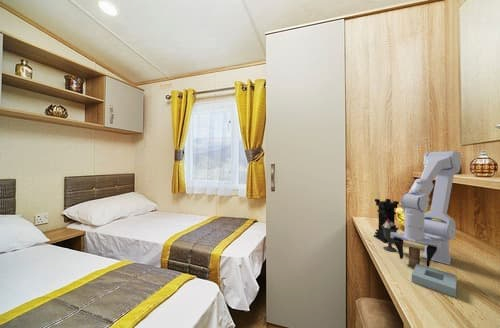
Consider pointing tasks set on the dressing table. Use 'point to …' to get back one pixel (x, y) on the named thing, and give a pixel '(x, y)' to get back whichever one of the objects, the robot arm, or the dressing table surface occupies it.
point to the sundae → (387, 229)
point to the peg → (414, 256)
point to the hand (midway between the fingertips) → (414, 261)
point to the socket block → (435, 279)
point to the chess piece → (389, 211)
